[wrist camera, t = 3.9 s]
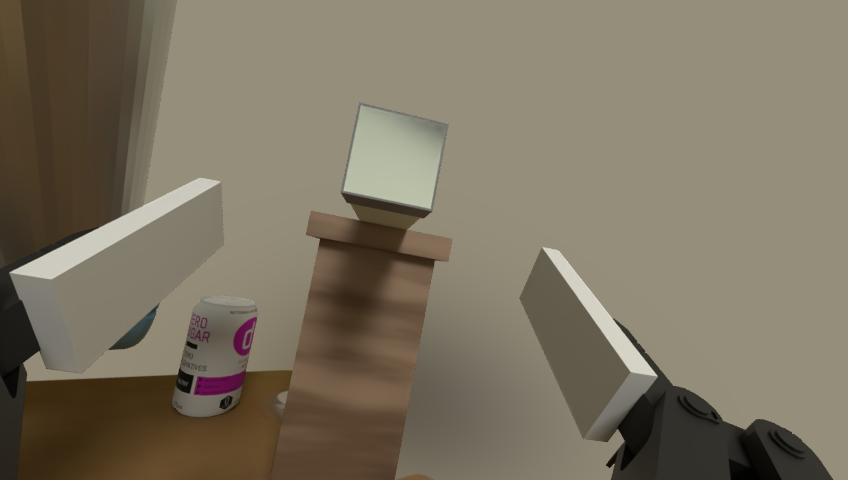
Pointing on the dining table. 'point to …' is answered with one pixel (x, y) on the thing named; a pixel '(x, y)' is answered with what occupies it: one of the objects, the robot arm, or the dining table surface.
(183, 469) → the dining table surface
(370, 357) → the stand
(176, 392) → the supplement can
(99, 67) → the robot arm
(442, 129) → the bar
